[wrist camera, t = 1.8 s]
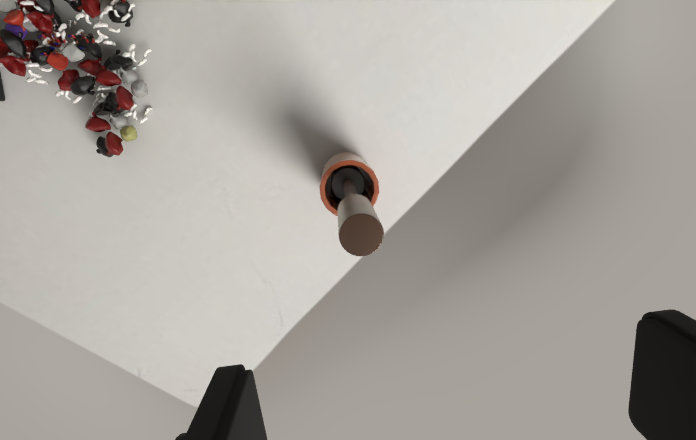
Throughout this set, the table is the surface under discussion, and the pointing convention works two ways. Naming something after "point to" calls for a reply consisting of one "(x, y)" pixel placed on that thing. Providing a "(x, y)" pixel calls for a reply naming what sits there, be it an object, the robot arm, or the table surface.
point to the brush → (355, 213)
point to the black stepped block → (1, 90)
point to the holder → (342, 160)
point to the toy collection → (43, 17)
